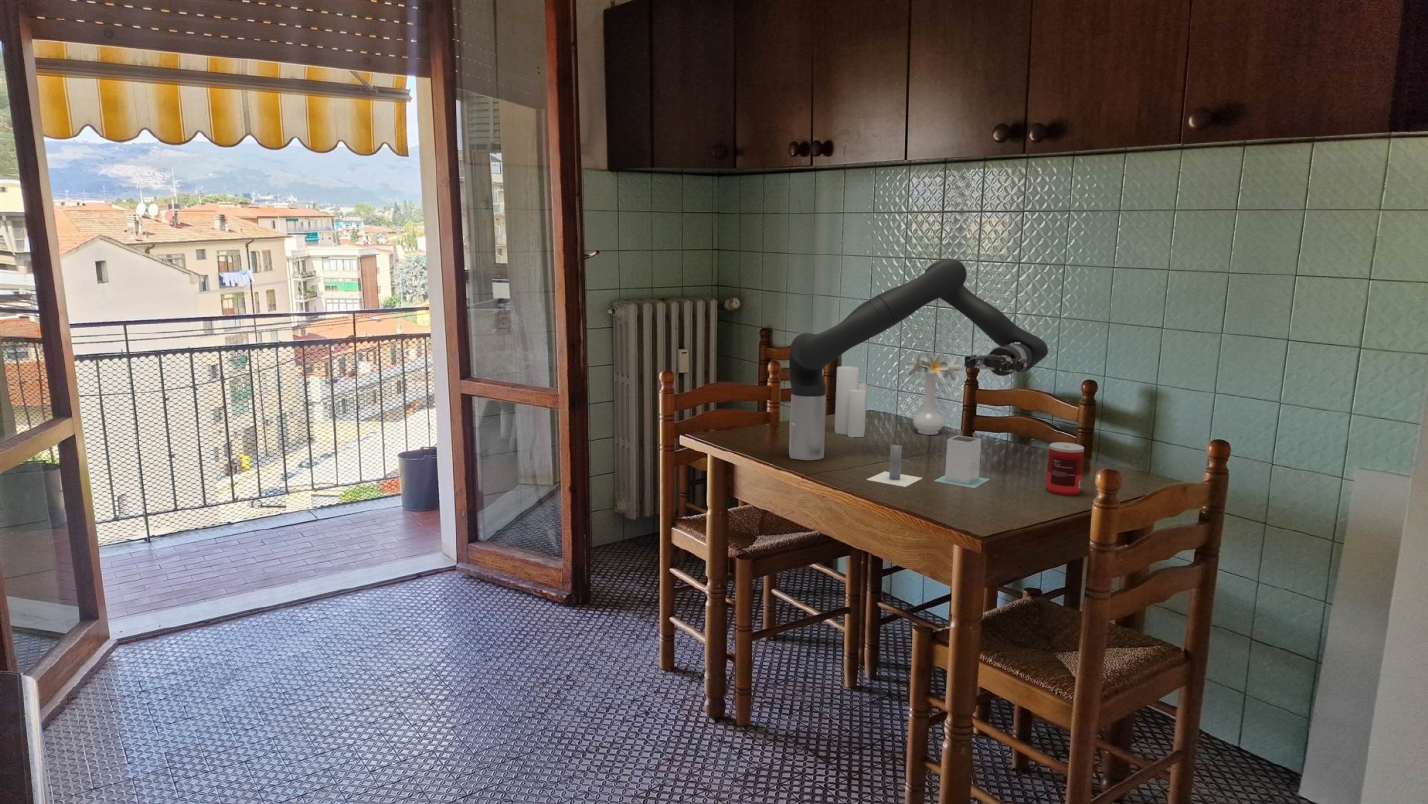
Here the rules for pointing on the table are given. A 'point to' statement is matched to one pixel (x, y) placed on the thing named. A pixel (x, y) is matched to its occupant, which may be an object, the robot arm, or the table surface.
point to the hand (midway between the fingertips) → (985, 366)
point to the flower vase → (931, 389)
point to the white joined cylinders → (850, 403)
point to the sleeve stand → (895, 471)
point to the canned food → (1064, 468)
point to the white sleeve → (963, 459)
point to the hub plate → (972, 485)
